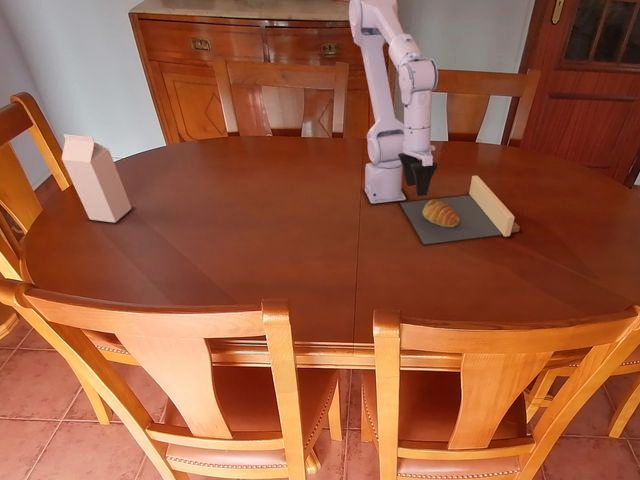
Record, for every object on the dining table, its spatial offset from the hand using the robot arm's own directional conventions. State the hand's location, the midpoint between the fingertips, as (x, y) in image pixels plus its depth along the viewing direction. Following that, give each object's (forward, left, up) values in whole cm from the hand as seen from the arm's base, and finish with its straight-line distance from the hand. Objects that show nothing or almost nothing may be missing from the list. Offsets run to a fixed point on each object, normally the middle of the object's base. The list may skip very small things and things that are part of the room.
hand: (416, 190), depth 108 cm
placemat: (+9, +1, -9) cm, 13 cm away
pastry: (+7, +1, -9) cm, 11 cm away
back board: (+22, +1, -9) cm, 23 cm away
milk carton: (-72, +21, -9) cm, 76 cm away
